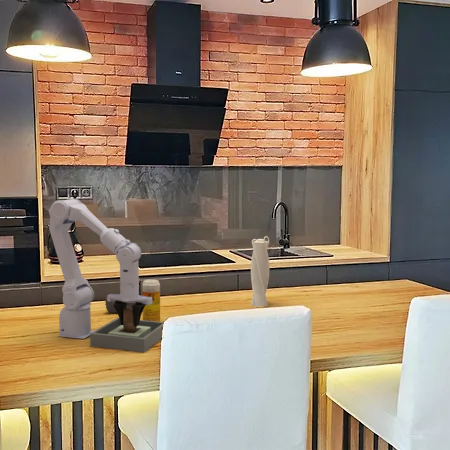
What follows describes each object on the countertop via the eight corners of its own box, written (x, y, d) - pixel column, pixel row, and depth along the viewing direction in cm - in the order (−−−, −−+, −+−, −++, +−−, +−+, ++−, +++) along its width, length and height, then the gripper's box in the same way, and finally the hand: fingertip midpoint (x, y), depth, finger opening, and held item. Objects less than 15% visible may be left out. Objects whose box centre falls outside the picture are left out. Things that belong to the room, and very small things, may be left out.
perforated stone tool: (141, 307, 213) (141, 290, 212) (145, 311, 209) (145, 293, 208) (102, 311, 207) (102, 293, 206) (105, 315, 202) (105, 296, 201)
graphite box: (90, 346, 168) (89, 333, 168) (117, 329, 186) (117, 317, 185) (144, 352, 163) (144, 339, 163) (167, 334, 181) (167, 322, 180)
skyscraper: (272, 307, 216) (274, 236, 212) (255, 309, 213) (256, 237, 210) (263, 302, 223) (265, 233, 220) (247, 304, 220) (248, 234, 217)
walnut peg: (121, 335, 173) (120, 310, 172) (127, 331, 177) (126, 307, 176) (133, 336, 172) (132, 311, 171) (138, 332, 176) (138, 308, 175)
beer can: (143, 326, 189) (143, 283, 187) (141, 321, 195) (141, 279, 193) (161, 325, 191) (161, 282, 189) (158, 320, 197) (158, 278, 195)
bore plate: (108, 340, 171) (108, 333, 171) (122, 331, 181) (122, 324, 180) (137, 344, 168) (137, 336, 168) (151, 334, 178) (151, 326, 177)
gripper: (102, 283, 171) (103, 326, 172) (145, 287, 167) (145, 330, 168) (113, 279, 177) (113, 320, 179) (154, 282, 173) (155, 324, 175)
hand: (129, 325), depth 174 cm, fingers closed on walnut peg, 4 cm apart
